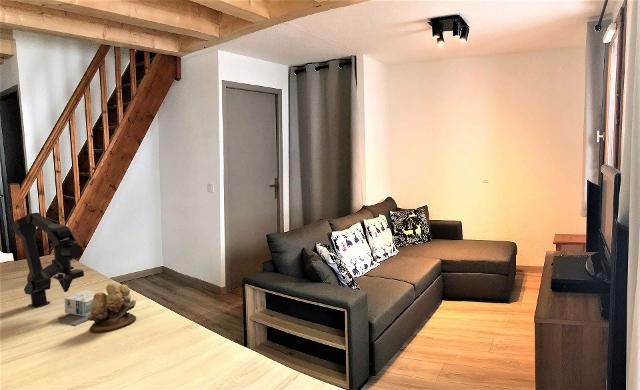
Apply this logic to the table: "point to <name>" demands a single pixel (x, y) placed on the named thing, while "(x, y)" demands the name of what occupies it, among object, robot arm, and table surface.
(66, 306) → the light bulb box
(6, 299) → the table surface
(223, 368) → the table surface
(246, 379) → the table surface
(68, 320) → the rubber mat
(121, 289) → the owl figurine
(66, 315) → the walnut kerb
